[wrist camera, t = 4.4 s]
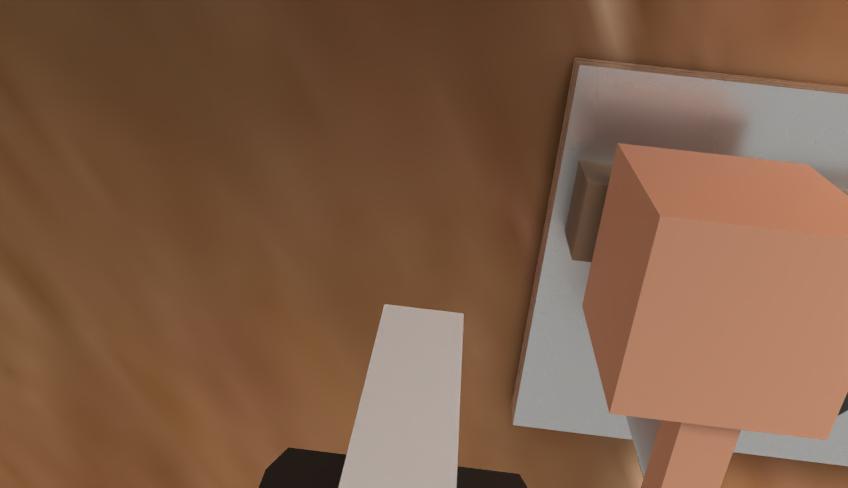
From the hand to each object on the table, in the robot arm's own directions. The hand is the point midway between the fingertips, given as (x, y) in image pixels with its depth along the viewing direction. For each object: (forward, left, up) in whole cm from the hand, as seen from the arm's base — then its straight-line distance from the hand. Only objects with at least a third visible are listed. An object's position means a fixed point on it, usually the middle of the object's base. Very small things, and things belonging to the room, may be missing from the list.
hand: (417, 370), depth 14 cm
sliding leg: (+7, -2, -9) cm, 12 cm away
